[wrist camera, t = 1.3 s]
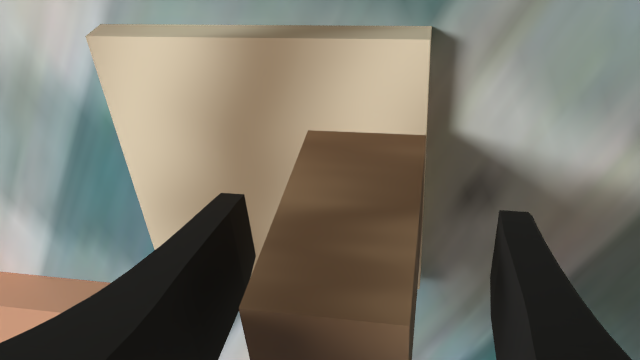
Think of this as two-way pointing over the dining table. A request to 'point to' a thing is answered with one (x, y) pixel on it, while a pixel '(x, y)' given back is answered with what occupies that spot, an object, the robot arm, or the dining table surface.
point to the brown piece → (287, 166)
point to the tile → (38, 300)
